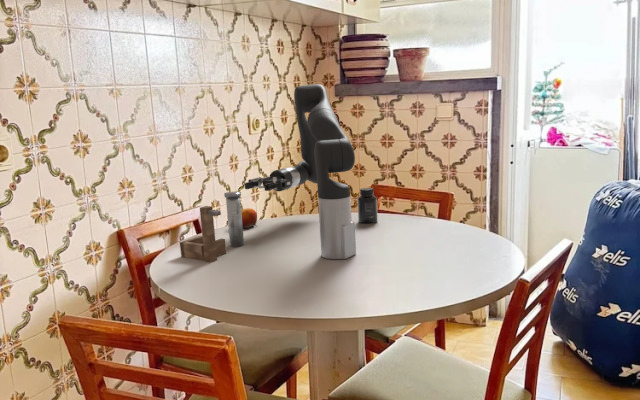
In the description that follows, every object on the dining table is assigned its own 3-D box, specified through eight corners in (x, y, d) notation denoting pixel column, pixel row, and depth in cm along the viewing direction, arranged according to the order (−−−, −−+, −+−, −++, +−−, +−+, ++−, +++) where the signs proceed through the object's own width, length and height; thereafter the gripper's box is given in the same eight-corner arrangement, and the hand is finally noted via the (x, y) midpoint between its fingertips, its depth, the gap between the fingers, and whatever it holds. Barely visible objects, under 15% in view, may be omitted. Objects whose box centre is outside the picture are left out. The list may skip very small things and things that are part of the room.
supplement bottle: (380, 220, 202) (379, 187, 200) (372, 224, 197) (370, 190, 194) (364, 219, 206) (362, 186, 204) (355, 223, 200) (353, 190, 198)
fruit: (250, 226, 198) (240, 207, 199) (238, 236, 202) (228, 216, 204) (266, 222, 204) (256, 202, 205) (253, 231, 209) (244, 212, 210)
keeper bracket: (241, 255, 168) (236, 202, 165) (220, 263, 160) (214, 209, 157) (201, 249, 177) (196, 199, 174) (180, 257, 170) (174, 205, 167)
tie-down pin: (248, 243, 180) (244, 191, 177) (237, 248, 176) (233, 194, 173) (236, 242, 183) (232, 191, 180) (225, 246, 179) (220, 193, 176)
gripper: (268, 167, 202) (238, 174, 189) (300, 169, 194) (271, 176, 181) (270, 188, 204) (240, 196, 190) (301, 190, 196) (273, 199, 183)
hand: (255, 187), depth 186 cm, fingers open, 8 cm apart
